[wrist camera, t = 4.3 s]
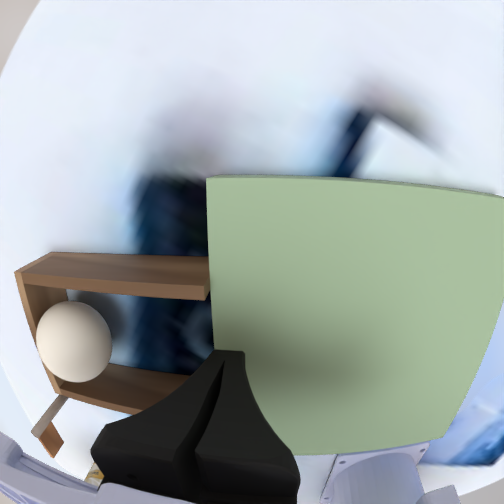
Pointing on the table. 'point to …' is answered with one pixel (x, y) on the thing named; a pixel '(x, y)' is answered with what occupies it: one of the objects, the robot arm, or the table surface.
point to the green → (354, 302)
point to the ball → (74, 341)
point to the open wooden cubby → (115, 282)
